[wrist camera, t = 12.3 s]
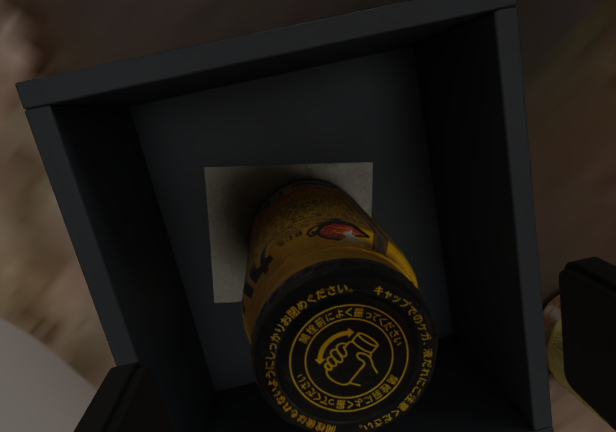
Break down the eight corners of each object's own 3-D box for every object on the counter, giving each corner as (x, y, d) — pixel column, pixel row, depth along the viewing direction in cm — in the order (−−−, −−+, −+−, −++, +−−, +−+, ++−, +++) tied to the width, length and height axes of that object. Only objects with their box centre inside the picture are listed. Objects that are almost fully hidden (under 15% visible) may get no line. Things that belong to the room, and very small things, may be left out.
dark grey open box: (113, 93, 22) (13, 82, 13) (420, 28, 22) (516, -23, 14) (207, 397, 26) (178, 538, 17) (462, 336, 27) (554, 443, 18)
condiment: (369, 293, 24) (462, 459, 13) (214, 301, 24) (164, 485, 12) (371, 161, 23) (481, 215, 11) (204, 166, 22) (134, 229, 10)
